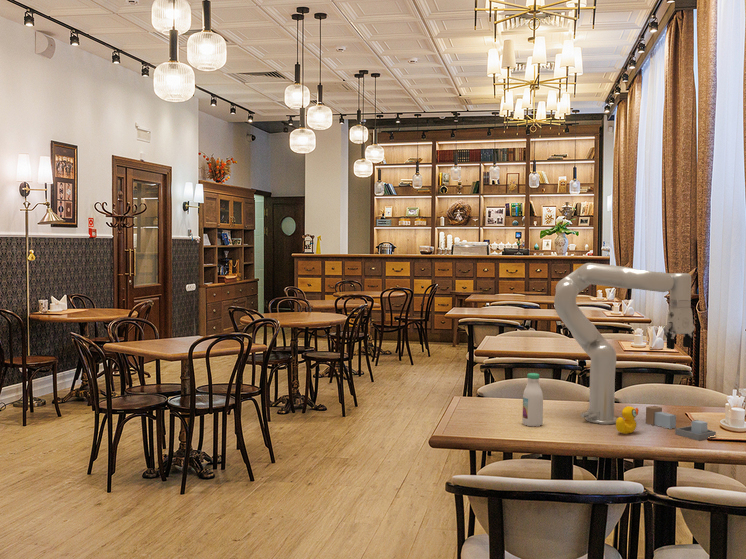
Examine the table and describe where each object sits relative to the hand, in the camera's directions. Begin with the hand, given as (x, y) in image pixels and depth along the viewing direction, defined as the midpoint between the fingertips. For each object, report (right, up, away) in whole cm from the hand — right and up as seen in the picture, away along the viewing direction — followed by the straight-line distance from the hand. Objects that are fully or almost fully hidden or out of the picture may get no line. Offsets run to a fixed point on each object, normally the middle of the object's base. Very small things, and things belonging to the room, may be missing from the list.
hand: (678, 348), depth 267 cm
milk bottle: (-57, -30, 0) cm, 65 cm away
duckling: (-25, -31, -12) cm, 41 cm away
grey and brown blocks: (-7, -30, -1) cm, 31 cm away
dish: (0, -31, -15) cm, 34 cm away
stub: (0, -30, -16) cm, 34 cm away
